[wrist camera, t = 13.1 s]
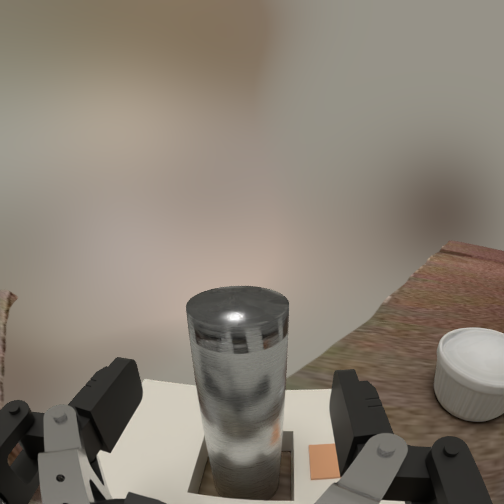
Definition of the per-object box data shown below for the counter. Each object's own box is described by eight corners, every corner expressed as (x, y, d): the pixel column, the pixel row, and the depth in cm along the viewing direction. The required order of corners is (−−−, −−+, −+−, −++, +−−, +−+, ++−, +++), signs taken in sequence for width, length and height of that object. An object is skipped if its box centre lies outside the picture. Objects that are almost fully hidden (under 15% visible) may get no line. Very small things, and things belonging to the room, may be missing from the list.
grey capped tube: (209, 501, 14) (171, 322, 11) (220, 457, 18) (200, 285, 15) (277, 507, 14) (290, 328, 10) (279, 460, 18) (288, 286, 15)
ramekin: (446, 356, 28) (457, 317, 27) (520, 382, 20) (537, 341, 18) (406, 405, 22) (420, 359, 21) (501, 445, 13) (528, 399, 12)
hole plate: (76, 530, 9) (58, 513, 9) (150, 398, 25) (144, 377, 24) (406, 558, 7) (424, 545, 7) (365, 406, 23) (371, 384, 22)
